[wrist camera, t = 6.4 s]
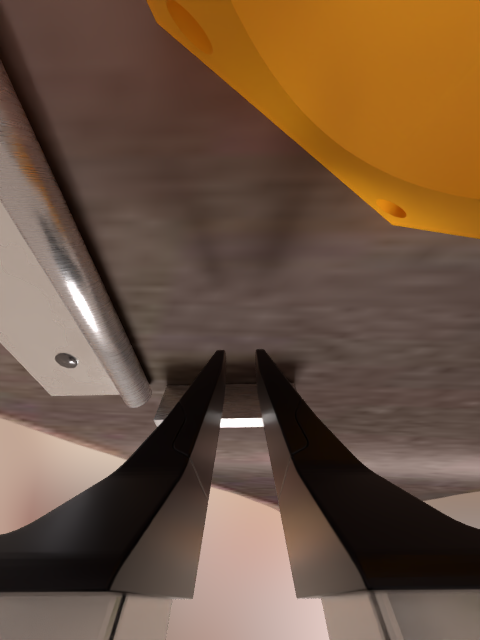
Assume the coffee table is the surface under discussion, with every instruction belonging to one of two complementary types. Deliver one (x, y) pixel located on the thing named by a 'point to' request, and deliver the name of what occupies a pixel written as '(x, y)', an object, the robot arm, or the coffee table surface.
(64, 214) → the hinge bed
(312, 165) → the coffee table surface
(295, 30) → the pipe clamp
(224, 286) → the coffee table surface
